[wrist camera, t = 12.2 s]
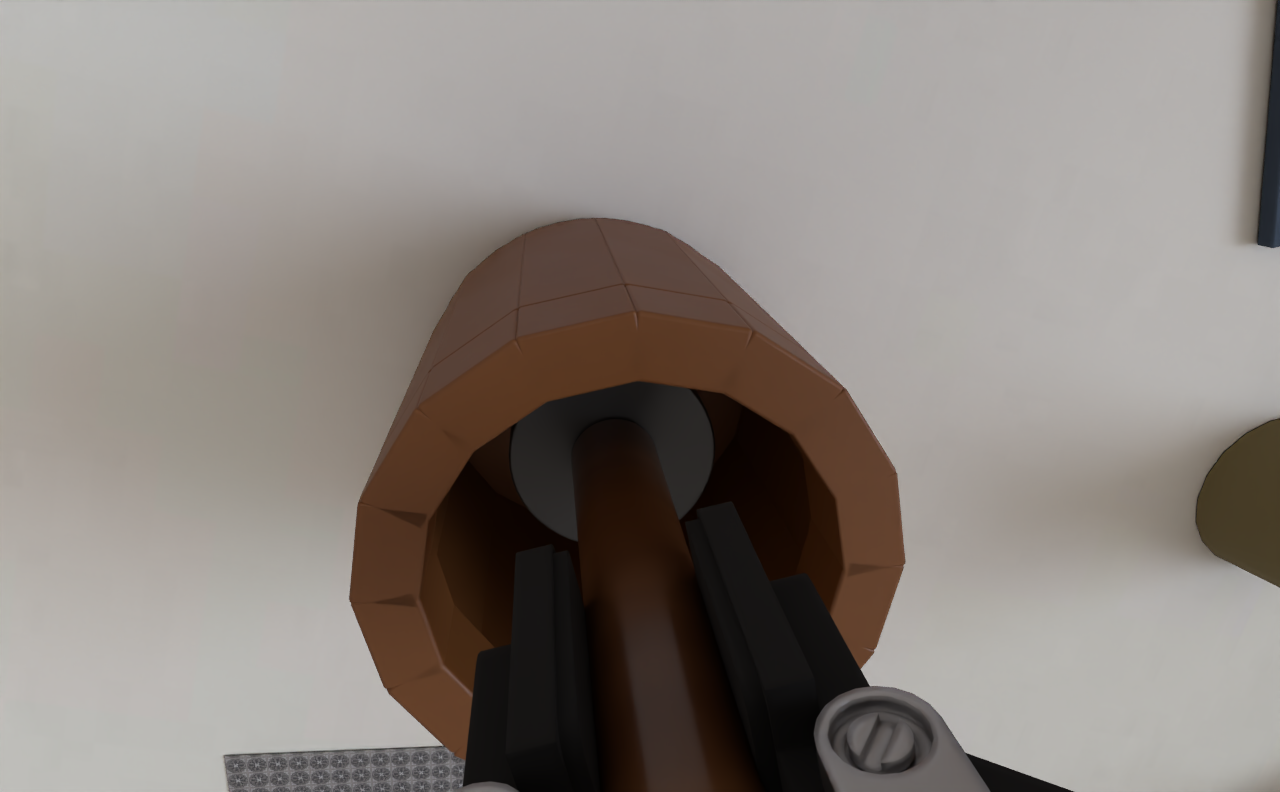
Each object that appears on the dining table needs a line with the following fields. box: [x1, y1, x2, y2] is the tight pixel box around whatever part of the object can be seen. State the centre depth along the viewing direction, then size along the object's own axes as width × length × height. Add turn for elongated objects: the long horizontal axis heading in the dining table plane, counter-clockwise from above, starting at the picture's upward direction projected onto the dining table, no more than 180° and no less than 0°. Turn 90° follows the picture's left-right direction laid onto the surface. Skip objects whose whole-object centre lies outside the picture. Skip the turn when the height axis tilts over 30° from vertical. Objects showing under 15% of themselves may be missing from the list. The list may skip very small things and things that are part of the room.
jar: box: [349, 218, 905, 760], centre depth 20 cm, size 10×10×11 cm
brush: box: [509, 381, 767, 792], centre depth 13 cm, size 4×4×14 cm
